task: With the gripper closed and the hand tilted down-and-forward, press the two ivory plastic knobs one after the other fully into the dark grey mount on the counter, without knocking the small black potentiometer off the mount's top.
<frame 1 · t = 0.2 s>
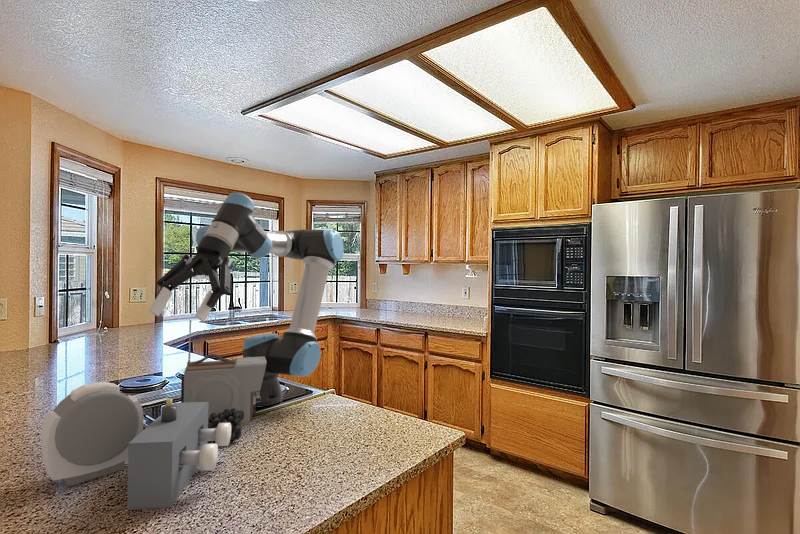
hand: (176, 316, 98), 36 cm above the countertop, fingers open, 13 cm apart
potentiometer: (168, 420, 95), point 13 cm above the countertop, touching mount
knob b: (196, 457, 90), point 7 cm above the countertop, slide at 0.0 cm
portable television: (223, 419, 131), on the countertop
mount: (172, 477, 95), on the countertop
fruit: (216, 441, 115), on the countertop
knob a: (212, 434, 102), point 7 cm above the countertop, slide at 0.0 cm
grey rounded slab: (94, 474, 96), on the countertop
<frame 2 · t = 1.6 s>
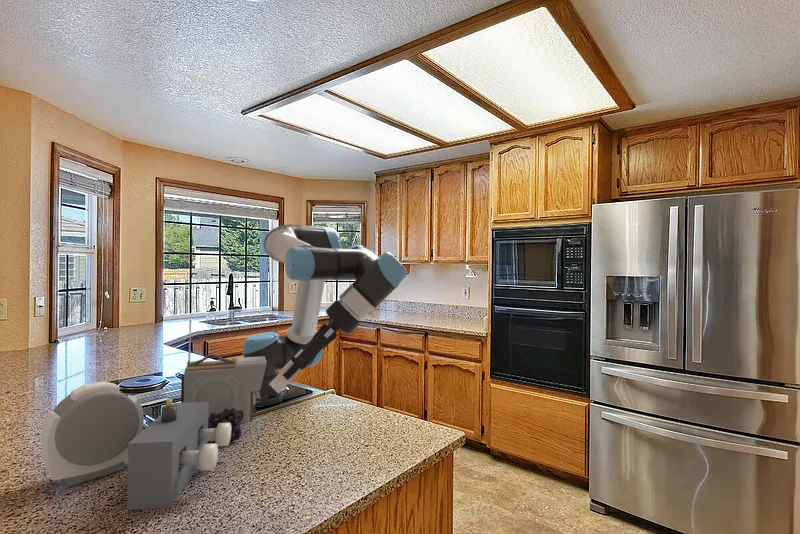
hand: (280, 380, 92), 23 cm above the countertop, fingers open, 13 cm apart
nothing on the countertop moved.
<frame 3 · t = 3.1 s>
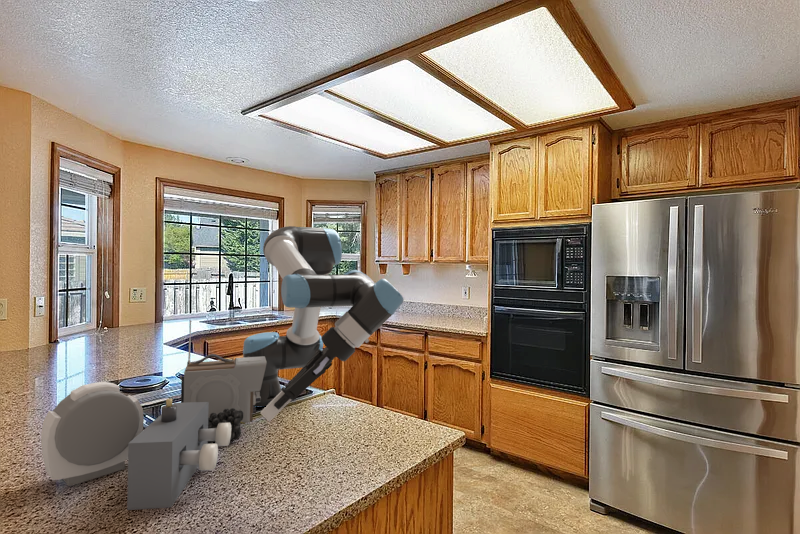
hand: (265, 416, 91), 16 cm above the countertop, fingers closed
nothing on the countertop moved.
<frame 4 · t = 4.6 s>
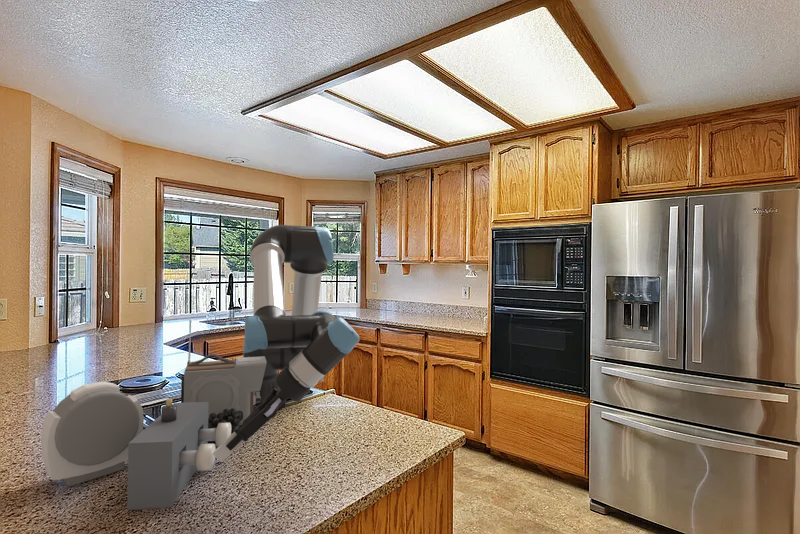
hand: (218, 456, 90), 7 cm above the countertop, fingers closed
knob b: (193, 457, 90), point 7 cm above the countertop, slide at 0.5 cm, touching gripper
everything else where it was.
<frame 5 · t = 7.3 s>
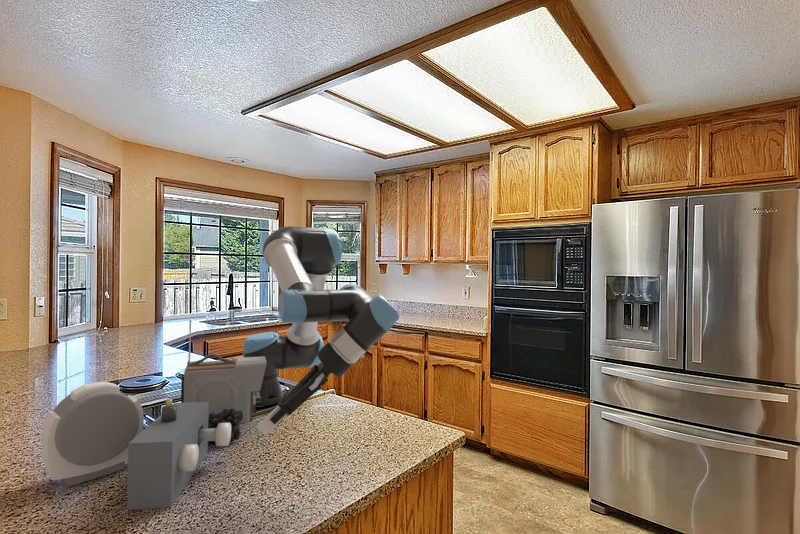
hand: (261, 430, 92), 12 cm above the countertop, fingers closed
knob b: (176, 458, 89), point 7 cm above the countertop, slide at 4.0 cm, touching mount
everything else where it was.
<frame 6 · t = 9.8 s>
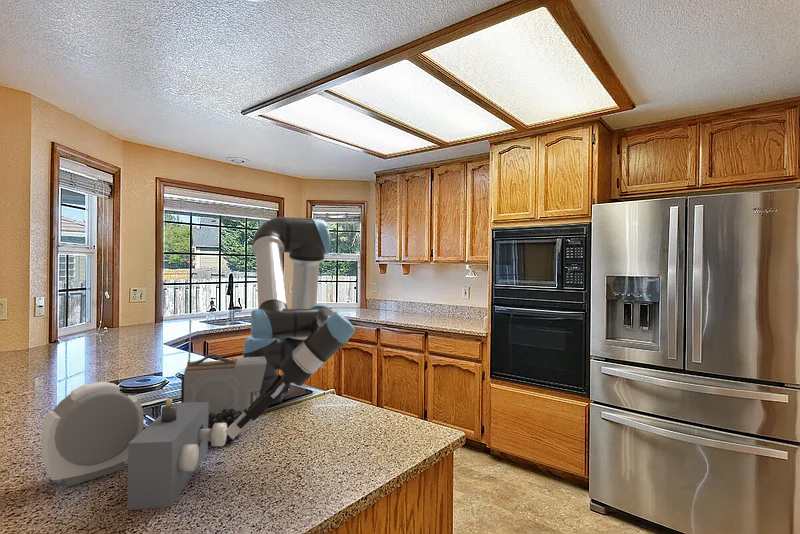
hand: (229, 434, 102), 7 cm above the countertop, fingers closed
knob a: (208, 434, 102), point 7 cm above the countertop, slide at 1.0 cm, touching gripper
everything else where it was.
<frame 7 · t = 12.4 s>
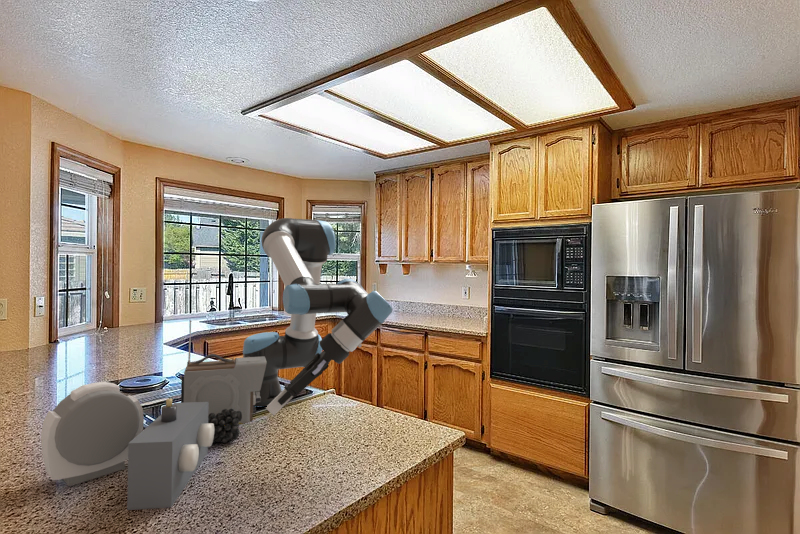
hand: (270, 410, 104), 12 cm above the countertop, fingers closed
knob a: (194, 435, 101), point 7 cm above the countertop, slide at 4.0 cm, touching mount
everything else where it was.
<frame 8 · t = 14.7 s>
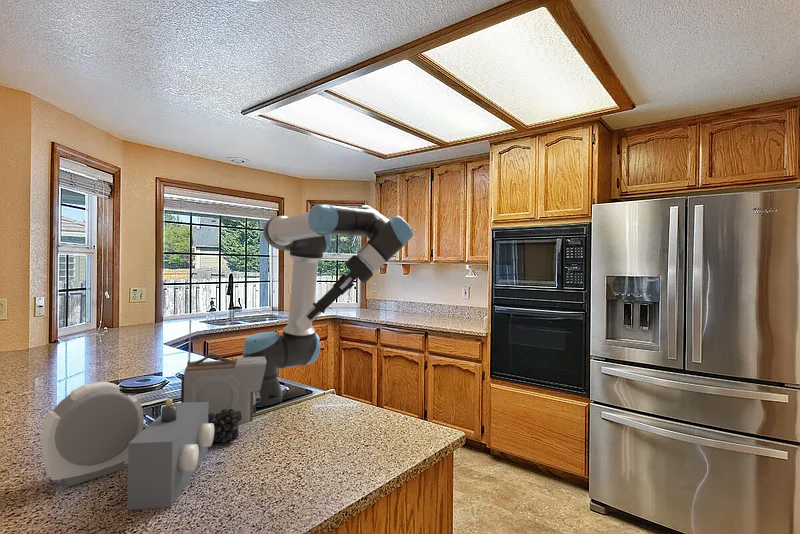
hand: (299, 326, 110), 32 cm above the countertop, fingers closed
nothing on the countertop moved.
at the end: knob a slide at 4.0 cm; knob b slide at 4.0 cm; potentiometer moved 0.0 cm from its start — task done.
